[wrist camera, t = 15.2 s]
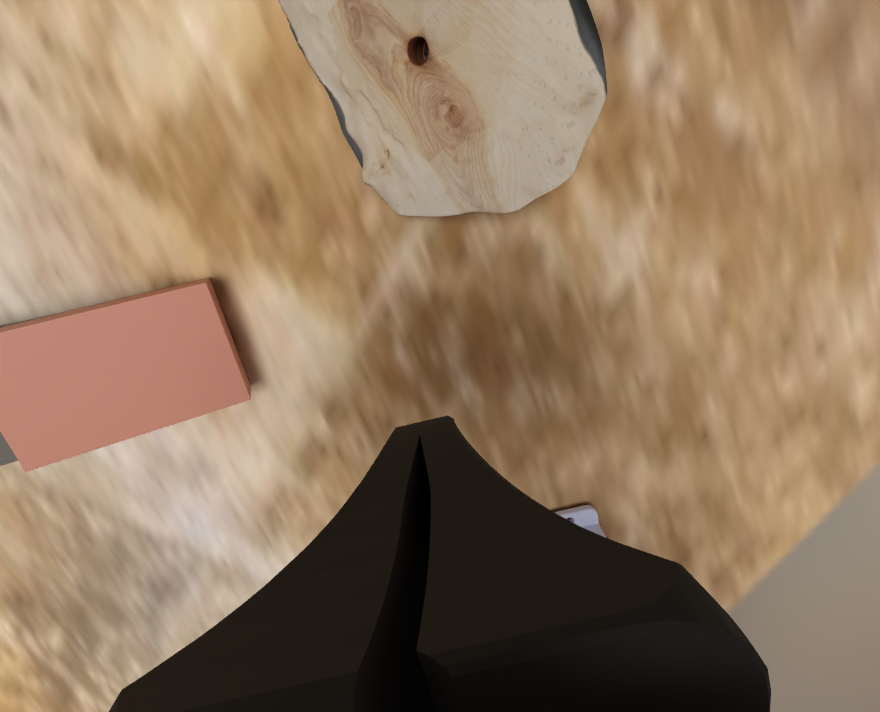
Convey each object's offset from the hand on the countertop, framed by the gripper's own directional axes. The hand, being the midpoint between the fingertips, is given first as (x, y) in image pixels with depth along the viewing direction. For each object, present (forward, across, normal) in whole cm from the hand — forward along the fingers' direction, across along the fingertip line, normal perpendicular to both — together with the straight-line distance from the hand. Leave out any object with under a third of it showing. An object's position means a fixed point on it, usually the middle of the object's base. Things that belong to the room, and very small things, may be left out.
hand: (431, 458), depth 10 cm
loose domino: (+10, +8, -2) cm, 12 cm away
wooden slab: (+11, -3, -10) cm, 15 cm away
